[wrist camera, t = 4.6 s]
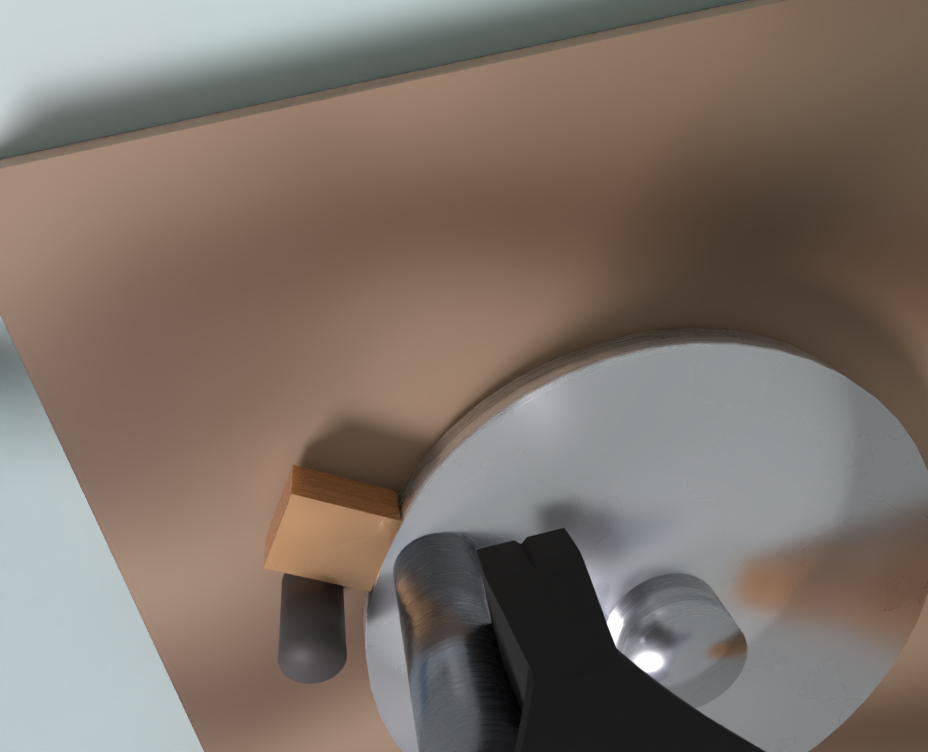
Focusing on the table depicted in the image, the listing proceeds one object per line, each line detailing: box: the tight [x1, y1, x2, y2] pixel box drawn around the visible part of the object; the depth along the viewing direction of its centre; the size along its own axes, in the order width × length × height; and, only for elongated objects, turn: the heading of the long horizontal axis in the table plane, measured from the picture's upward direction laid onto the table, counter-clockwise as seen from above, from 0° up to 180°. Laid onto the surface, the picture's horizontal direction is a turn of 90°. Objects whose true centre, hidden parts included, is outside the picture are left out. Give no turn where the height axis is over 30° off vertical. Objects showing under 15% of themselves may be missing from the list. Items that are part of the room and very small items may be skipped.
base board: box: [0, 0, 928, 752], centre depth 17 cm, size 22×20×4 cm
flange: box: [263, 328, 928, 752], centre depth 15 cm, size 14×12×6 cm
